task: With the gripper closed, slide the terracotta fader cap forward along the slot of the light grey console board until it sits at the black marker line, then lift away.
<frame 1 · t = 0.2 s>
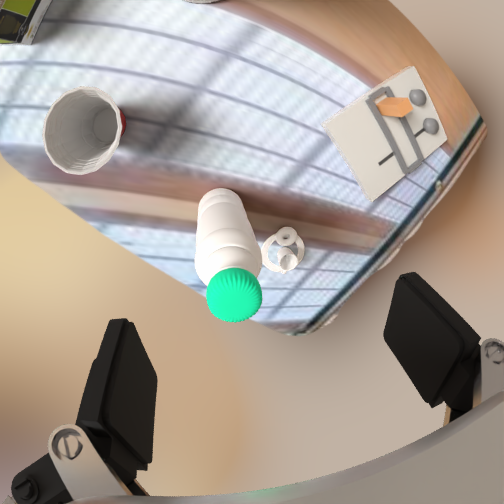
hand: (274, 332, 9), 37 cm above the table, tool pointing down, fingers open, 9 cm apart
fader: (393, 106, 36), point 5 cm above the table, slide at -5.0 cm
plastic cup: (110, 125, 37), on the table
tea box: (30, 10, 22), on the table
water bottle: (220, 208, 46), on the table
console: (390, 129, 43), on the table
white ring with post: (297, 243, 51), on the table
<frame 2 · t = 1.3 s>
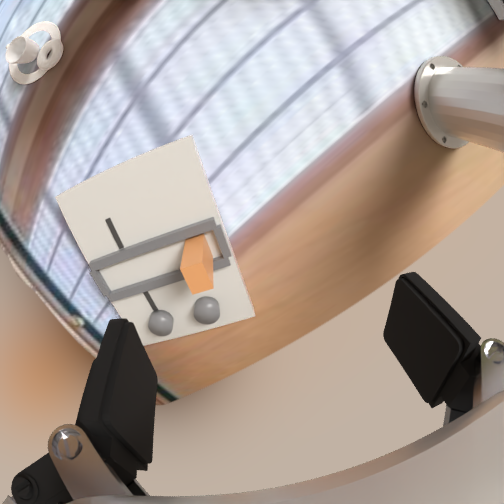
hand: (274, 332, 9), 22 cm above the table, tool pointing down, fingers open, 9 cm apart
fader: (198, 261, 27), point 5 cm above the table, slide at -5.0 cm
console: (159, 252, 31), on the table
white ring with post: (35, 75, 20), on the table
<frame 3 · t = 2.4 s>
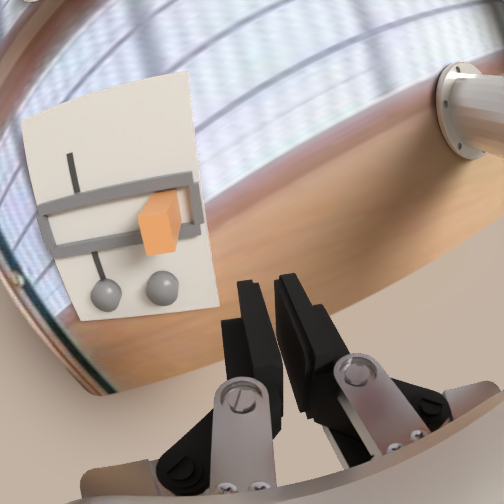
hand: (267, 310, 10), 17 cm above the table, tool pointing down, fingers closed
fader: (162, 218, 21), point 5 cm above the table, slide at -5.0 cm
console: (119, 208, 25), on the table
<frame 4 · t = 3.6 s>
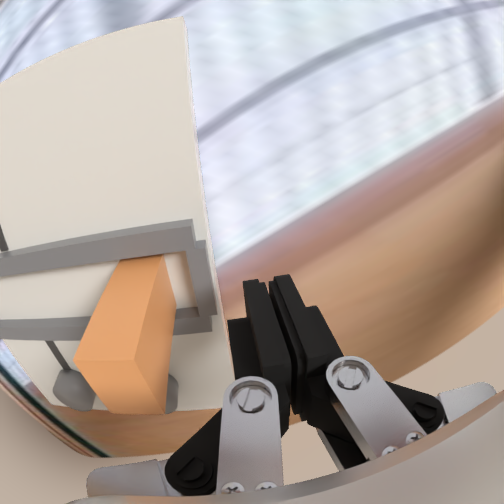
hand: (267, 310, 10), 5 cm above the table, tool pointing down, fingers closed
fader: (136, 326, 10), point 5 cm above the table, slide at -5.0 cm
console: (76, 271, 14), on the table
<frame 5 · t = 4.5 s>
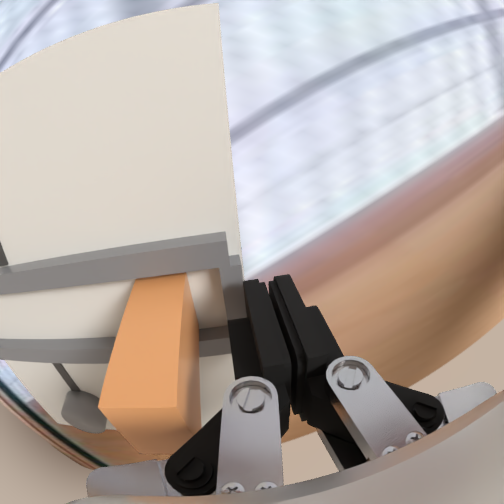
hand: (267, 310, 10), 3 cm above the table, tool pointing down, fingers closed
fader: (161, 356, 9), point 5 cm above the table, slide at -4.8 cm, touching gripper
console: (85, 286, 13), on the table
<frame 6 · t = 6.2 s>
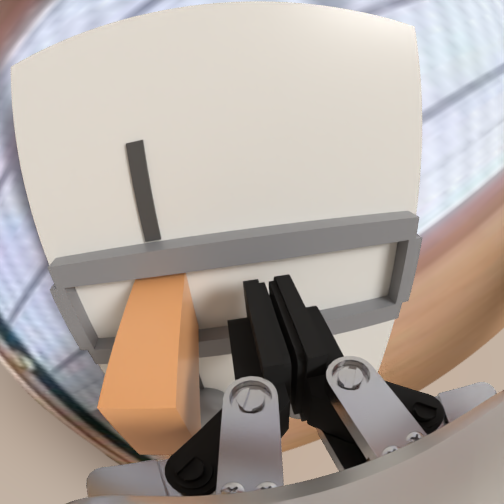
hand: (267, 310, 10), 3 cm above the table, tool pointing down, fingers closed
fader: (161, 356, 9), point 5 cm above the table, slide at 3.1 cm, touching gripper
console: (237, 267, 13), on the table
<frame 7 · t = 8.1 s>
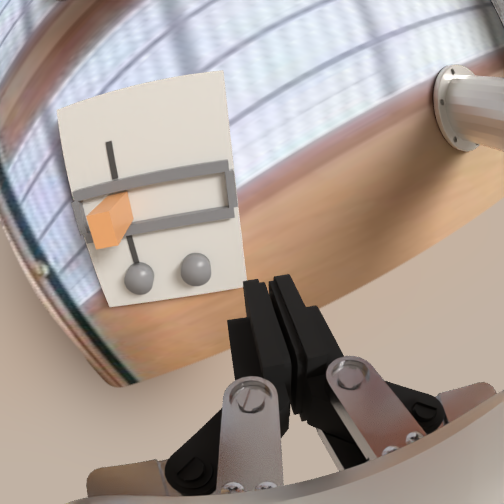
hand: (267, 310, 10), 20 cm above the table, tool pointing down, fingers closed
fader: (112, 217, 22), point 5 cm above the table, slide at 3.1 cm
console: (154, 195, 27), on the table
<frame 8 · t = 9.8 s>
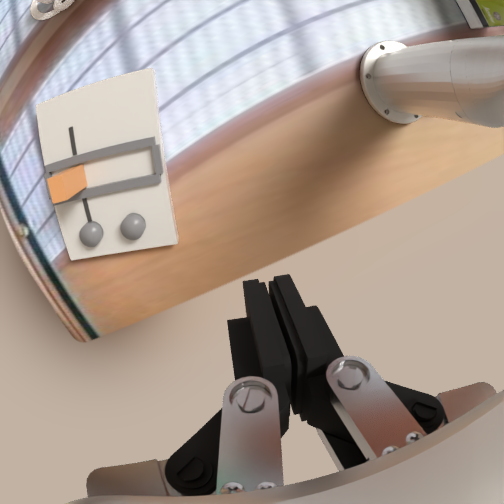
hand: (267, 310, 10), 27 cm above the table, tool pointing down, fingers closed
fader: (68, 182, 27), point 5 cm above the table, slide at 3.1 cm
console: (105, 168, 32), on the table
white ring with post: (49, 15, 20), on the table
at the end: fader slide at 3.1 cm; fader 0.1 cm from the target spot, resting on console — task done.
